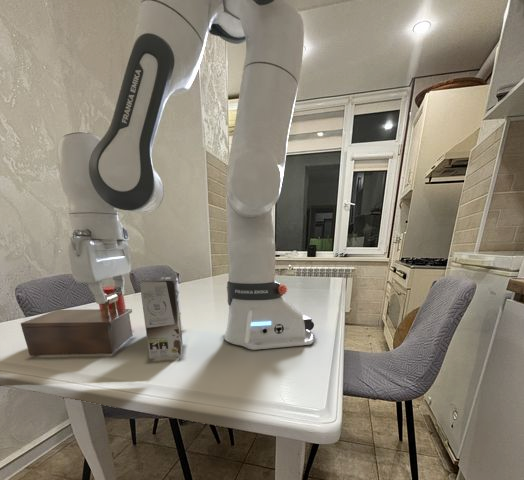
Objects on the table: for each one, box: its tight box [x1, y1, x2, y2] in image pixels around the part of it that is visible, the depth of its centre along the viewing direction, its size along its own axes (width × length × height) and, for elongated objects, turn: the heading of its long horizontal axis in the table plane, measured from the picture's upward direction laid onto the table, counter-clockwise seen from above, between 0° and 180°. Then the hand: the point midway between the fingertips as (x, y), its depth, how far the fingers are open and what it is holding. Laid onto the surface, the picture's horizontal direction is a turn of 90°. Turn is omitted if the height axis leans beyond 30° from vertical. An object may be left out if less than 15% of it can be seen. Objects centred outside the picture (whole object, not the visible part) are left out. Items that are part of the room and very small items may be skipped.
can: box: [98, 285, 127, 309], centre depth 76 cm, size 6×6×12 cm
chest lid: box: [20, 293, 133, 328], centre depth 64 cm, size 17×13×5 cm
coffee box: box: [139, 275, 184, 360], centre depth 61 cm, size 9×6×16 cm
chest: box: [21, 314, 133, 356], centre depth 66 cm, size 17×13×7 cm
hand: (111, 298), depth 64 cm, fingers open, 8 cm apart
